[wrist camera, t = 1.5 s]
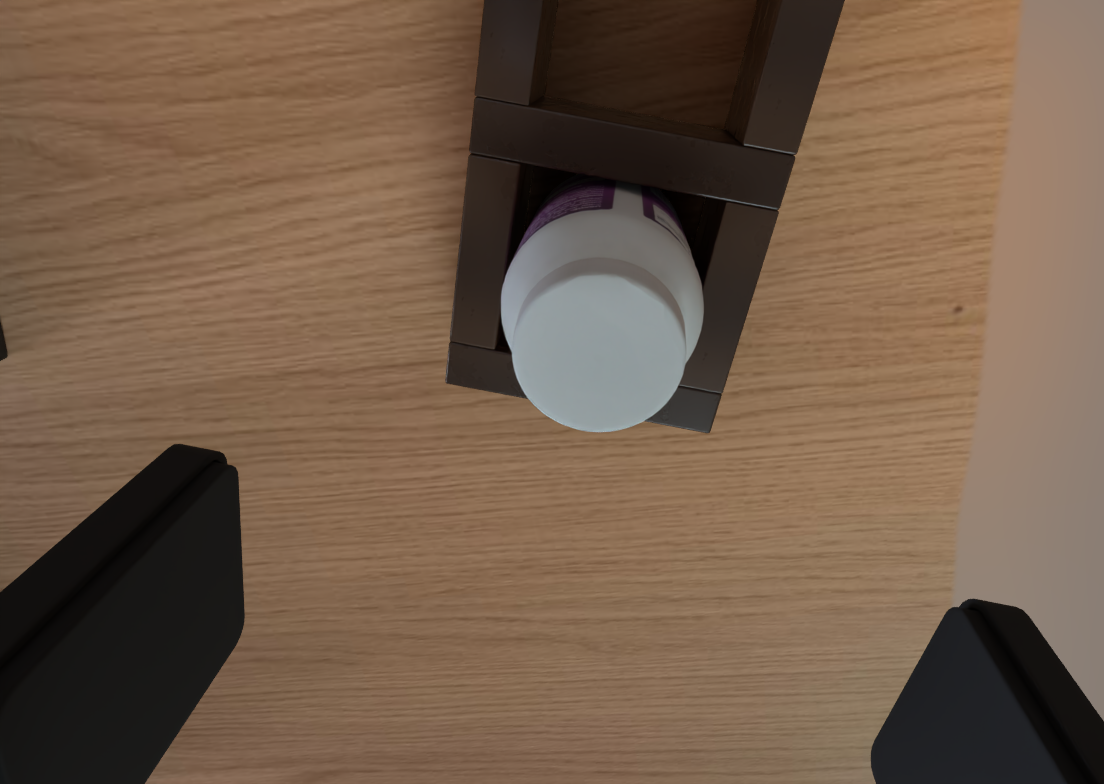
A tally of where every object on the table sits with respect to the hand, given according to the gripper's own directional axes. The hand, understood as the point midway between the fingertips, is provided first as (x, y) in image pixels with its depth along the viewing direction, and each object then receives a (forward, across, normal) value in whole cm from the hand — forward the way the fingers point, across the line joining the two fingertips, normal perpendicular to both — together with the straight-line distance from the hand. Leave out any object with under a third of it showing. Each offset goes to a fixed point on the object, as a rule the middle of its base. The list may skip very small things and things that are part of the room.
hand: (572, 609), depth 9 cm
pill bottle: (+17, 0, -1) cm, 17 cm away
